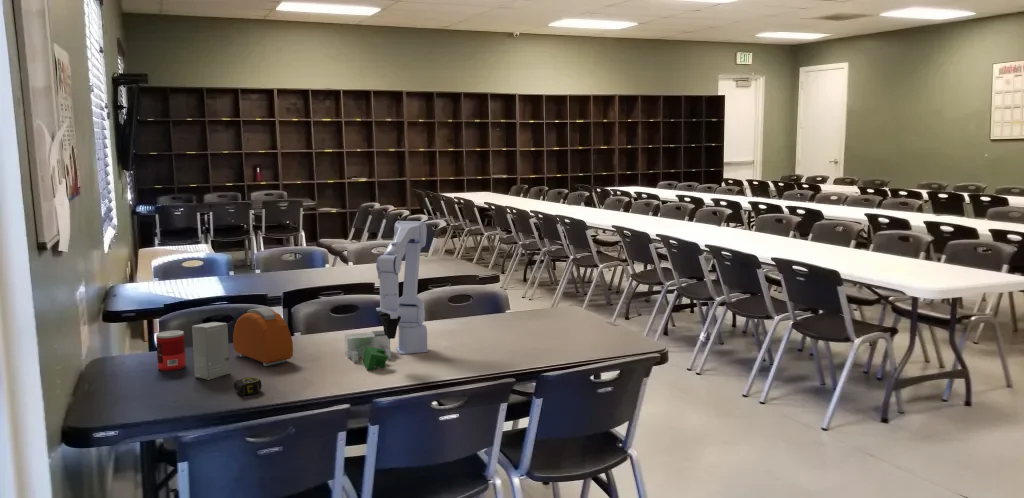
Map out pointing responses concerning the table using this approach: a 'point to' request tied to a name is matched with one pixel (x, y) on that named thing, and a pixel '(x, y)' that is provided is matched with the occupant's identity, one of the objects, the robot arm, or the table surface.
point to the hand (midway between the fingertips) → (390, 336)
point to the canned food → (170, 350)
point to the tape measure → (248, 385)
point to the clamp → (374, 358)
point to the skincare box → (210, 350)
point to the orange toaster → (263, 336)
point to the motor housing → (366, 344)
